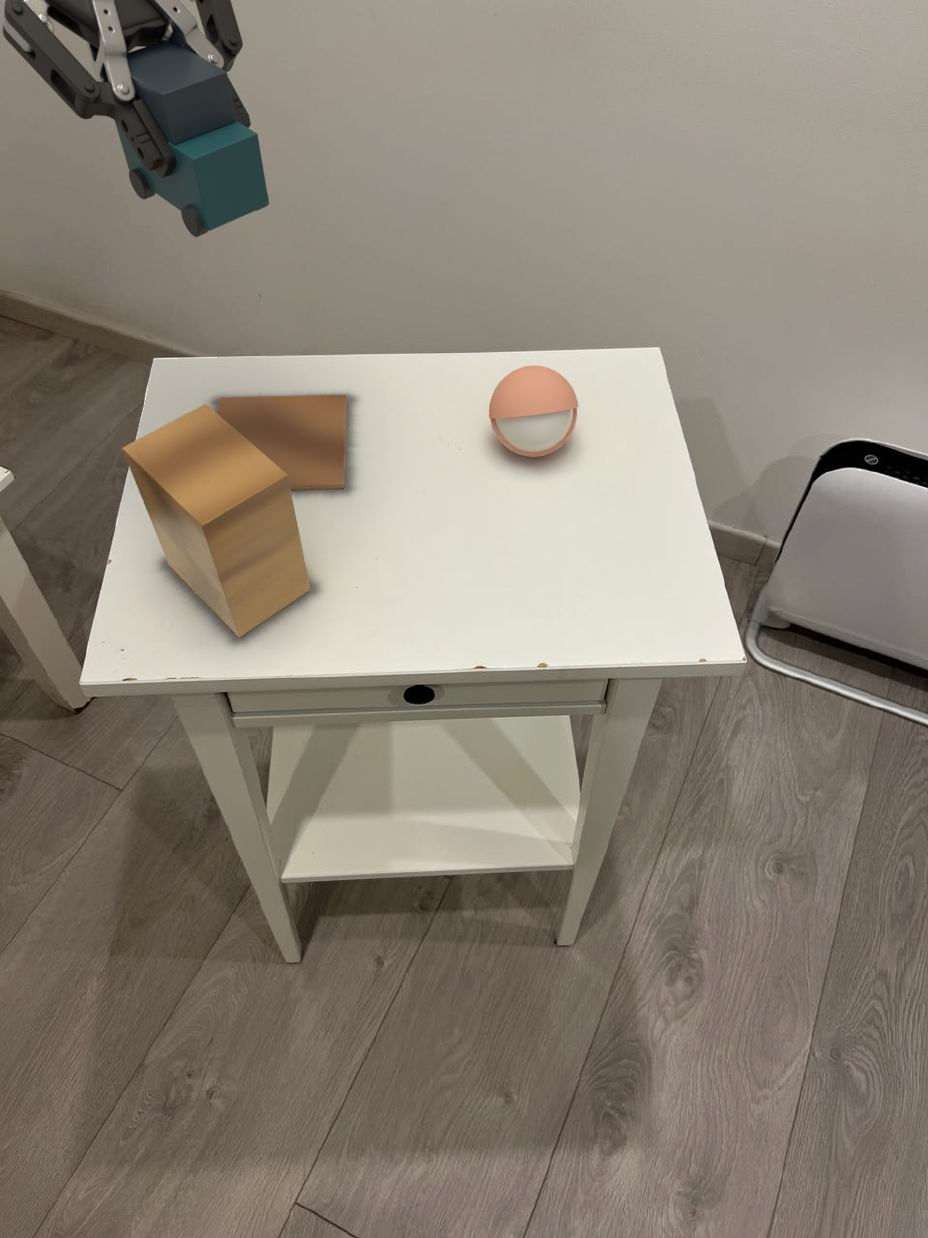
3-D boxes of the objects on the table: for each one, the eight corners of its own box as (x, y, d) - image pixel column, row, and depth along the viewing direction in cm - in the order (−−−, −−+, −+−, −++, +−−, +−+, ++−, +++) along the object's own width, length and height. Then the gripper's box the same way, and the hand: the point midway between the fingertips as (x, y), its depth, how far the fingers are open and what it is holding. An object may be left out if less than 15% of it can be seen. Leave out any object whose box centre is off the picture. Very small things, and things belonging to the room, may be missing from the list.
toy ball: (496, 478, 78) (501, 409, 72) (479, 420, 82) (482, 351, 76) (581, 467, 79) (594, 399, 73) (560, 411, 83) (570, 342, 77)
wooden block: (311, 589, 70) (288, 474, 60) (239, 638, 67) (201, 525, 57) (239, 522, 74) (205, 402, 64) (168, 565, 71) (121, 447, 61)
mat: (344, 488, 77) (343, 483, 76) (207, 492, 76) (205, 487, 76) (346, 399, 84) (346, 394, 83) (221, 401, 83) (220, 397, 83)
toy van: (128, 189, 58) (88, 55, 51) (197, 162, 60) (167, 30, 53) (206, 245, 54) (174, 109, 47) (276, 214, 56) (255, 80, 50)
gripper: (-95, -177, 42) (112, 169, 47) (160, -220, 48) (321, 90, 53) (-89, -71, 49) (93, 223, 53) (136, -121, 55) (281, 147, 59)
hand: (206, 155), depth 53 cm, fingers closed on toy van, 4 cm apart
